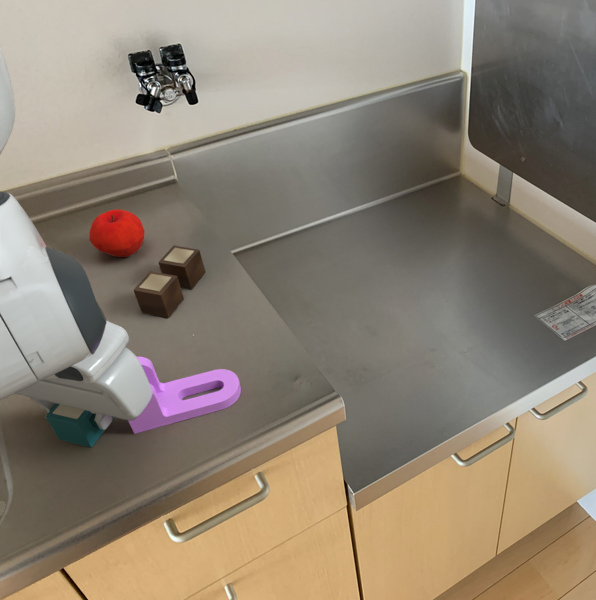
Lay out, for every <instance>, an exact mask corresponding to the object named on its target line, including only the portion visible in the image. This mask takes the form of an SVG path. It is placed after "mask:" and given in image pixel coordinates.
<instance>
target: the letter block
mask: <svg viewBox="0 0 596 600" xmlns="http://www.w3.org/2000/svg"><path fill="white" fill-rule="evenodd" d="M93 414H94V413H91V412H90V411H86V410H82V409H78V408H73V407H69V406H65V405H61V404H55V406H54V407H53V408H52V409H51V410H50V411H49V412H48V413H46V414H45V416H44V417H45V419H46V421H47V422H48V424H49V426H50V427H51V429H52V430H53V432H54V434H55V435H56V437H57V439H58V440H59V441H63V442H67V443H71V444H75V445H79V446H83V447H86V448H87V447H88V448H91V449H92V448H93V447H94V445H95V444H96V443H97V442H98V440H99V439H100V437H101V436H102V435H103V434H104V432H105V431H106V429H105V430H103V429H99V428H95V427H93V426H92V424H91V422H90V421H89V419H90V417H91V416H92V415H93ZM114 418H115V417H112V421H114Z"/></svg>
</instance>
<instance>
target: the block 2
mask: <svg viewBox="0 0 596 600" xmlns="http://www.w3.org/2000/svg"><path fill="white" fill-rule="evenodd" d="M133 294H134V296H135V299H136V301H137V304H138V307H139V309H140V312H141V314H146V315H150V316H155V317H156V316H157V317H161V318H166V319H169V318H171V316H172V315H173V314H174V312H175V311H176V310H177V308H178V307H179V306H180V305H181V304H182V302H183V301H184V299H185V297H184V294H183V290H182V288H181V287H180V284H179V280H178V277H177V276H174V275H168V274H163V273H162V272H157V271H153V270H152V271H149V272H148V273H147V274H146V275H145V276H144V277H143V279H141V281H140V282H139V283H138V284H137V285H136V286H135V287H134V289H133Z"/></svg>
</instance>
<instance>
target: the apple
mask: <svg viewBox="0 0 596 600" xmlns="http://www.w3.org/2000/svg"><path fill="white" fill-rule="evenodd" d="M88 235H89V236H88V237H89V241H90V243H91V245H92V246H93V247H94V248H95V249H96V250H98V251H99V252H101V253H104V254H107V255H110V256H113V257H117V258H128V257H131V256H133V255H134V254H136V253H137V252H138V251H139V250H140V249H141V247H142V245H143V243H144V239H145V228H144V225H143V223H142V220H141V219H140V218H139V217H138V215H136V214H134V213H133V212H130V211H128V210H125V209H120V208H119V209H117V208H116V209H111V210H108V211H105V212H103V213H101V214H98V215H97V216H96V217H95V219H94V220H93V221H92V223H91V226H90V228H89V234H88Z"/></svg>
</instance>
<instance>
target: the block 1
mask: <svg viewBox="0 0 596 600" xmlns="http://www.w3.org/2000/svg"><path fill="white" fill-rule="evenodd" d="M158 266H159V269H160V273H163V274H168V275H174V276H177V277H178V280H179V284H180V287H181V289H185V290H190V291H192V290H193V289H194V287H195V286H196V285H197V284H198V283H199V282H200V280H201V279H202V278H203V276H204V275H205V274H206V269H205V265H204V261H203V258H202V254H201V250H200V249H197V248H191V247H185V246H179V245H173V246H172V247H170V248H169V250H168V251H167V252H166V253H165V254H164V256H163V257H162V258H161V259H159V261H158Z"/></svg>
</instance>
